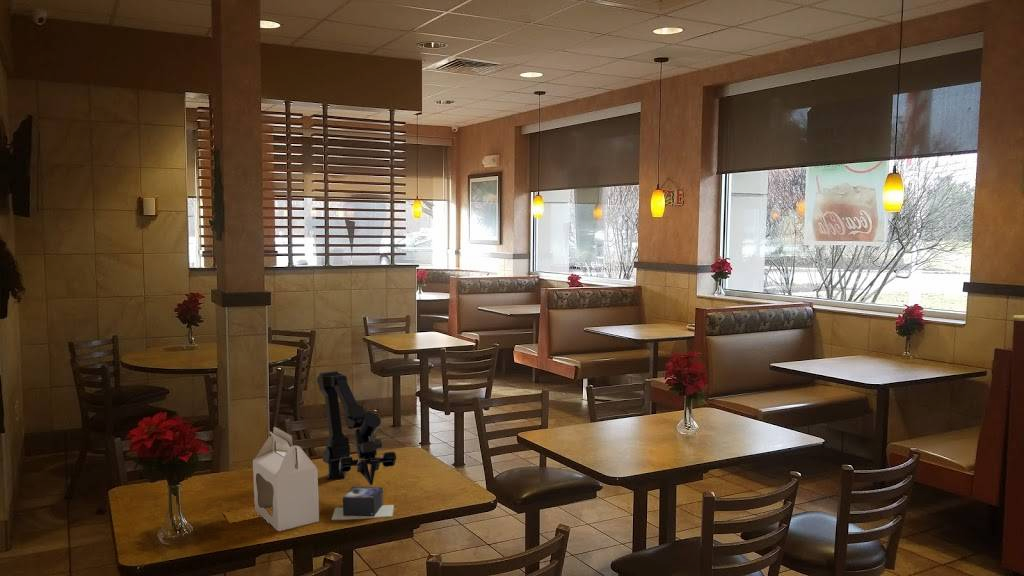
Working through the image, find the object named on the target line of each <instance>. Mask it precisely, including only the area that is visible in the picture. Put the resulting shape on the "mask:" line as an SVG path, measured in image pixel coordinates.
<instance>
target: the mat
mask: <svg viewBox="0 0 1024 576" xmlns="http://www.w3.org/2000/svg"><path fill="white" fill-rule="evenodd" d="M394 506H395V505H394V504H383V505H382V506H381V507H380V509H379V510H378V512H377V513H376V514H375V516H345V515H343V506H342V507H335V508H334V511H333V514H332V517H331V521H344V520H362V519H378V518H379V519H380V518H393V516H394V515H393V514H394V508H395V507H394Z"/></svg>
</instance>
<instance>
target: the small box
mask: <svg viewBox="0 0 1024 576" xmlns="http://www.w3.org/2000/svg"><path fill="white" fill-rule="evenodd" d="M383 497H384V491H383V487H381V486H352V487H351V488H350V489H349V490H348V491H347V493H346V494H345V495H343V497H342V507H343V515H345V516H375V514H376V513H377V512H378V510H379V509H380V507H381V506H382V505H384V500H383V499H384V498H383Z"/></svg>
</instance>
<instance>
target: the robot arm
mask: <svg viewBox="0 0 1024 576" xmlns="http://www.w3.org/2000/svg"><path fill="white" fill-rule="evenodd" d="M347 378H348V377H347V376H346V374H345V375H344V373H339V372H338V371H337V370H333V371H324V372H320V373H319V374H318V376H316V383H317V385H318V390H319V391H320V393H321V394H322V395H323V396H324V401H325V409H326V418H327V426H328V435H329V436H327V440H326V441H325V449H324V452H322V456H321V458H322V462H324V463H325V464H327V465H328V467H327V470H328V473H327V476H326V480H339V479H341V480H342V479H345V478H346V476H347V473H349V472H350V471H351V470H352V467H355V466H356V468H357V469H356V472H357V473H360V474H361V475H362V476H363V478H365V480H366V481H367V483H368V484H369V486H373V483H374V479H375V478H374V477H375V473H376V471H378V470H379V469H380V466H381V464H382V466H383V467H384V468H389V467H390V468H391V467H393V466H395V465H396V461H397V453H396V452H395V451H385V452H383V454H382V456H378V457H377V455H378V452H377V451H378V450H380V449H382V448H383V444H382V443H383V442H382V439H381V438H377V439H375V440H373V436H374V435H375V433H376V432H377V431H378V429H379V427H380V425H381V423H382V420H381V417H380V416H378V415H377V414H374V413H373V411H371V410H369V411H368V410H367V411H366V409H365V408H364V407H363V406H361V405H360V404H359V403H358V402H357V400H356V398H355V396H354V394H353V391H352V389H351V387H350V386H349V383H348V379H347ZM339 400H340V401H339ZM339 402H340V403H339ZM340 404H341V405H342V408H343V410H344V413H345V414H344V417H343V419H344V424H345V426H346V427H347V428H348V429H349V430H355V429H356V430H355V431H354V437H353V439H355V445H356V451H357V459H353V456H352V455H351V446H350V443H349V438H348V436H347V437H346V435H345V434H344V433H343V428H342V427H343V426H342V419H341V418H342V417H341V411H340ZM350 455H351V456H350ZM368 465H369V466H370V467H369V466H368Z"/></svg>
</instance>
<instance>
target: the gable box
mask: <svg viewBox="0 0 1024 576" xmlns="http://www.w3.org/2000/svg"><path fill="white" fill-rule="evenodd" d="M268 433H269V434H270V436H268V437H267V439H266V440H265V441H264V443H263V445H262V447H261V448H260V449H259V451H258V452H257V454H256V455H255V457H254V458H253V459H252V472H253V473H252V475H253V495H254V496H253V500H254V505H255V511H256V512H257V513H258V514H259V515H260V516H262V517H263V518H264V519H265V520H266V521H265V520H264V519H263V518H262V517H261V518H262V519H263V520H264V521H265V522H266V523H268V524H269V523H270V524H271V525H272V526H273V527H272V526H271V525H270V524H269V525H270V526H271V527H272V528H274V530H276V531H277V532H278V531H279V532H281V531H282V530H283V531H286V529H287V530H290V529H294V528H298V527H302V526H307V525H309V524H310V525H311V524H315V523H318V522H319V521H320V506H319V483H318V479H319V478H318V467H317V466H316V465H315V464H314V462H312V460H311V459H310V458H309V457H308V455H307V454H306V452H305V451H304V450H303V448H302V447H301V446H299V445H295V441H294V436H293V435H292V434H290V433H288V432H286V431H284V430H282V429H281V428H279V427H277V426H274V427H273V431H271V430H269V431H268ZM271 507H272V508H273V509H271V510H273V511H272V512H273V514H270V513H269V511H268V510H267V509H266V508H271ZM283 531H282V532H283Z"/></svg>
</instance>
